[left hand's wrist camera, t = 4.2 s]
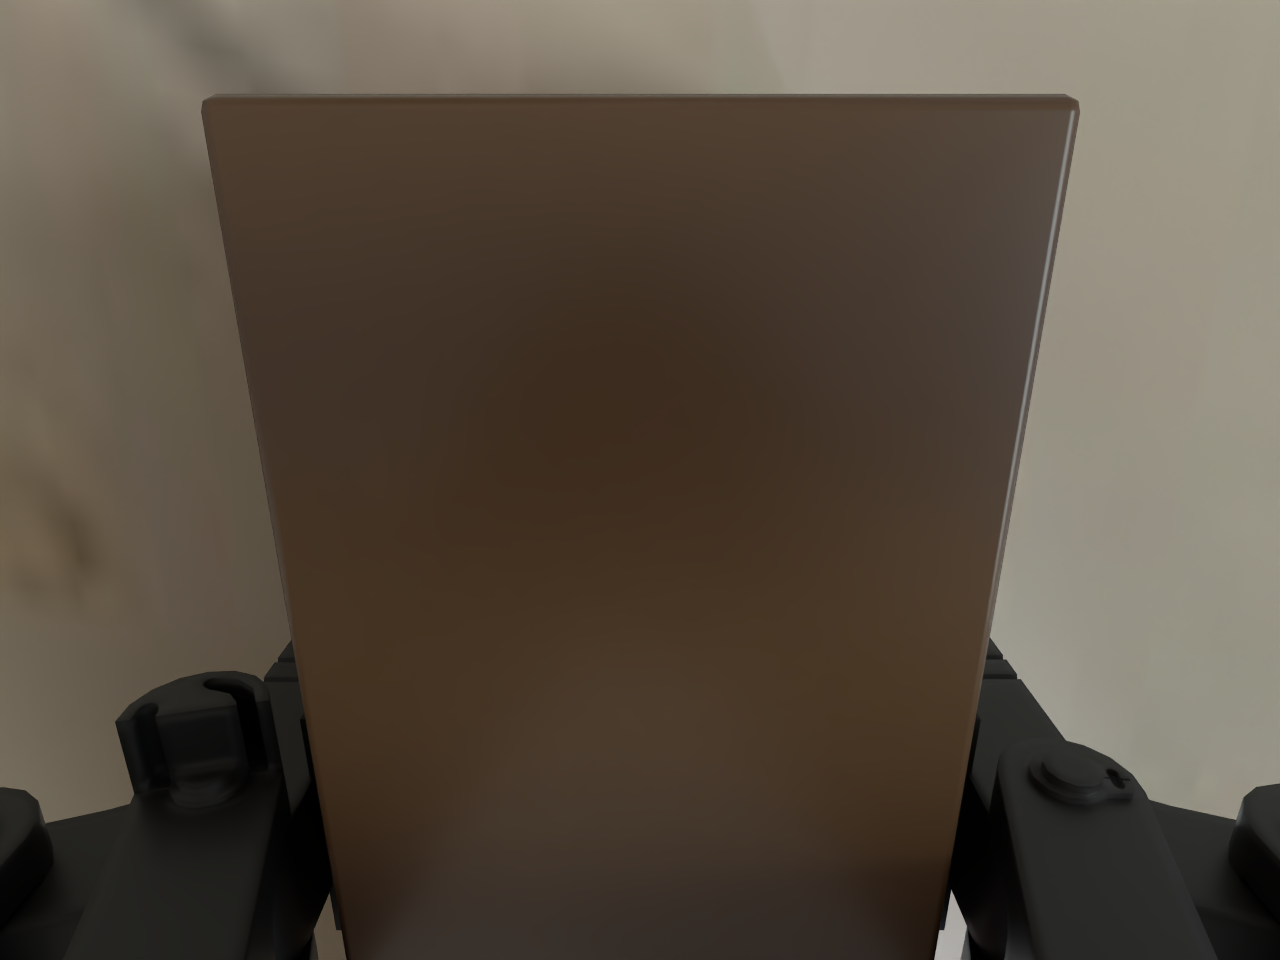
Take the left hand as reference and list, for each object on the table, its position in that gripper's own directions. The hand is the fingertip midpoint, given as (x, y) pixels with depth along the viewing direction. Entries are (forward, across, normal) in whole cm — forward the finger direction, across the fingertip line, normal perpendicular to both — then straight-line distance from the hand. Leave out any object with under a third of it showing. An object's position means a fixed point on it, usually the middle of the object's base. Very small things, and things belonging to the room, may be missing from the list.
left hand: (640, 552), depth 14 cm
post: (+1, 0, -28) cm, 29 cm away
